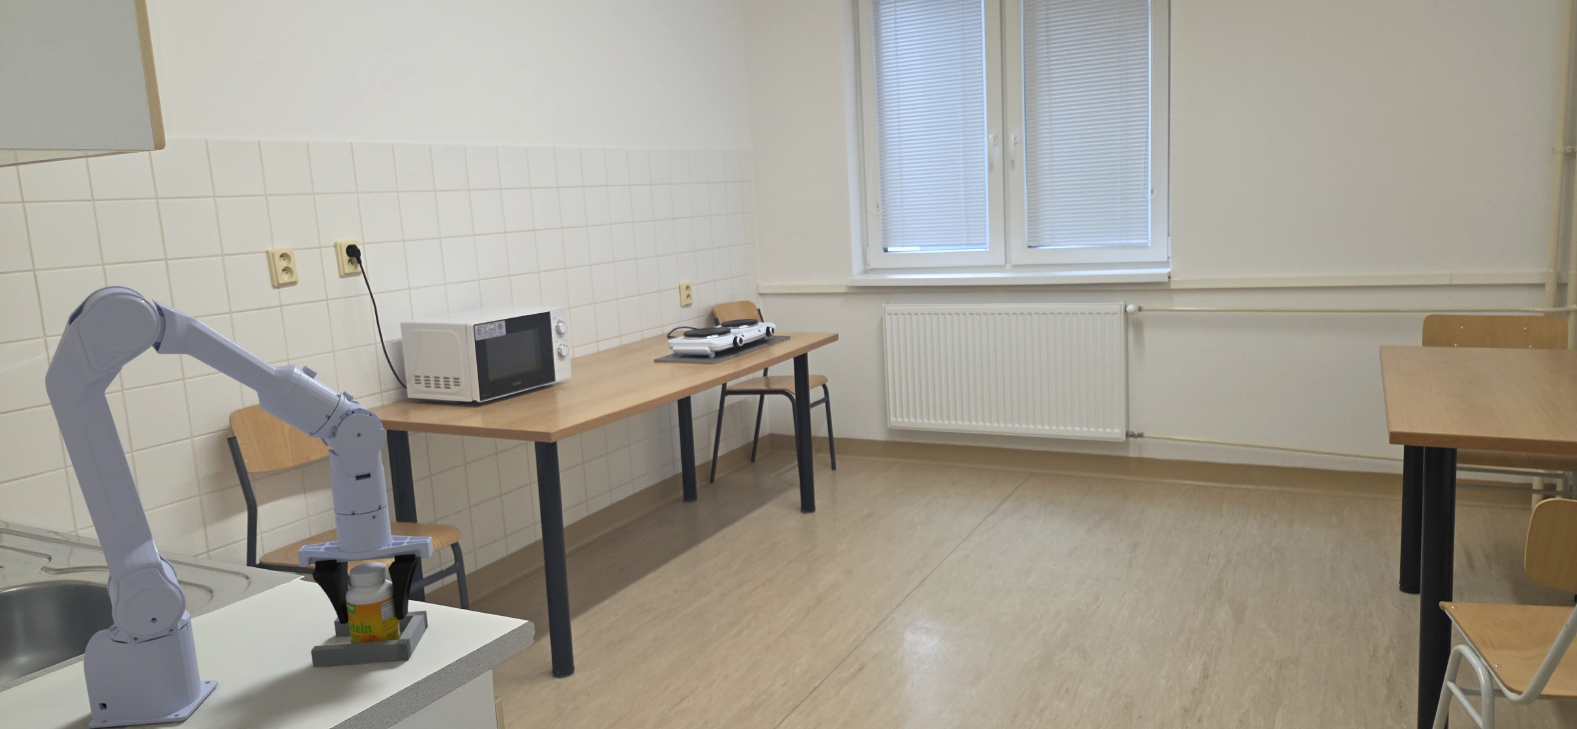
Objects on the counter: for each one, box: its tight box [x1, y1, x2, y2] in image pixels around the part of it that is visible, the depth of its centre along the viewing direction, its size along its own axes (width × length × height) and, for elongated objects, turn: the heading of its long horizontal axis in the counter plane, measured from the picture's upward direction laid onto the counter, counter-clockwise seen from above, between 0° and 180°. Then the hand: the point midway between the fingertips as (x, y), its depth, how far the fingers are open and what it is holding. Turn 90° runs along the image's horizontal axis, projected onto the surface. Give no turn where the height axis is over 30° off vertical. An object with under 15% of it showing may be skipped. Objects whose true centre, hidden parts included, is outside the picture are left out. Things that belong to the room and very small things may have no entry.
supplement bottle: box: [346, 561, 401, 643], centre depth 120 cm, size 5×5×10 cm
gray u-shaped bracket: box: [310, 610, 429, 668], centre depth 121 cm, size 10×9×2 cm
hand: (374, 618), depth 121 cm, fingers open, 6 cm apart
